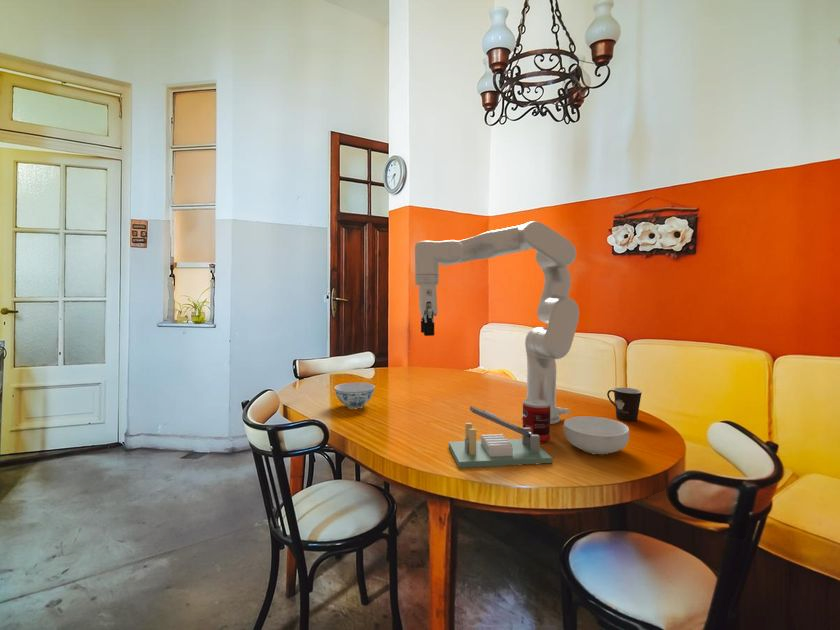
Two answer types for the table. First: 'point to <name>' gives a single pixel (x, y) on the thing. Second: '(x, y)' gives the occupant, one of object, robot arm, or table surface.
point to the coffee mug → (626, 403)
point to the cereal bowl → (596, 434)
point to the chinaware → (354, 394)
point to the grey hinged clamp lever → (500, 421)
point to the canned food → (537, 417)
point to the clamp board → (497, 461)
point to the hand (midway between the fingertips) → (427, 334)
